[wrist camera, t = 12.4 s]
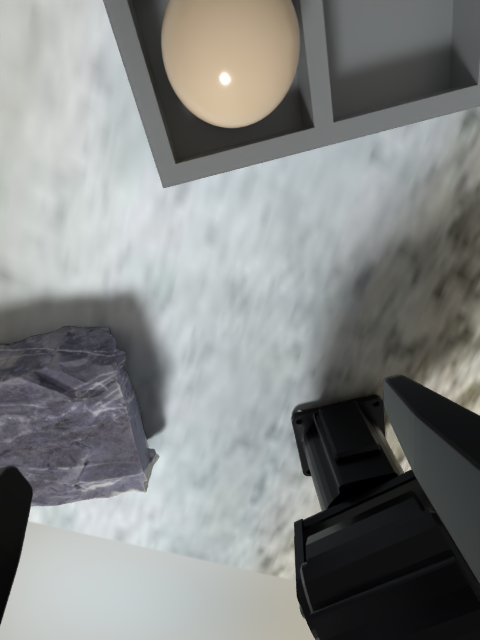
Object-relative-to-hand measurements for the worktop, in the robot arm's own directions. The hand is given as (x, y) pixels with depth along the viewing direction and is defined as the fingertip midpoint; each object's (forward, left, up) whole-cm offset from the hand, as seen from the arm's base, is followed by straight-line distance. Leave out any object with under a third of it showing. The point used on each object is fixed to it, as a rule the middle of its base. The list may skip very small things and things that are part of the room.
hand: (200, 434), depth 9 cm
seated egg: (+8, -3, -12) cm, 15 cm away
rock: (-9, +18, -14) cm, 24 cm away
